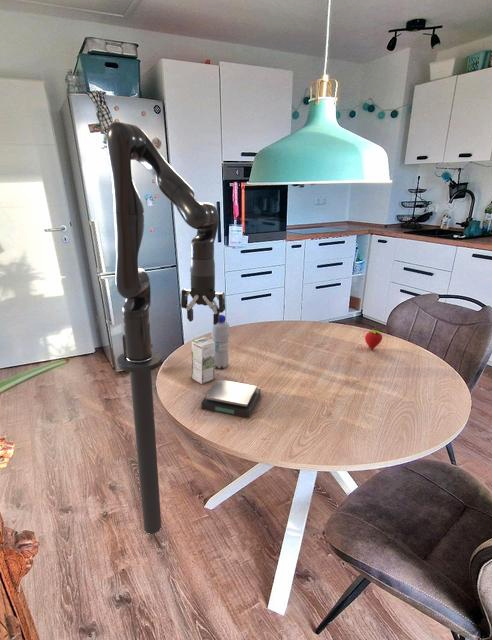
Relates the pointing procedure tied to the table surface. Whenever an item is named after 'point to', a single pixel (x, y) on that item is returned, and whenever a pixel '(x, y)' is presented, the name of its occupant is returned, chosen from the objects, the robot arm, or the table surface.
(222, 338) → the bottle
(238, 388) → the pan
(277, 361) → the table surface
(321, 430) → the table surface
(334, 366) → the table surface
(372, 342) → the strawberry
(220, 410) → the scale
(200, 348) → the syrup box
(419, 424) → the table surface
